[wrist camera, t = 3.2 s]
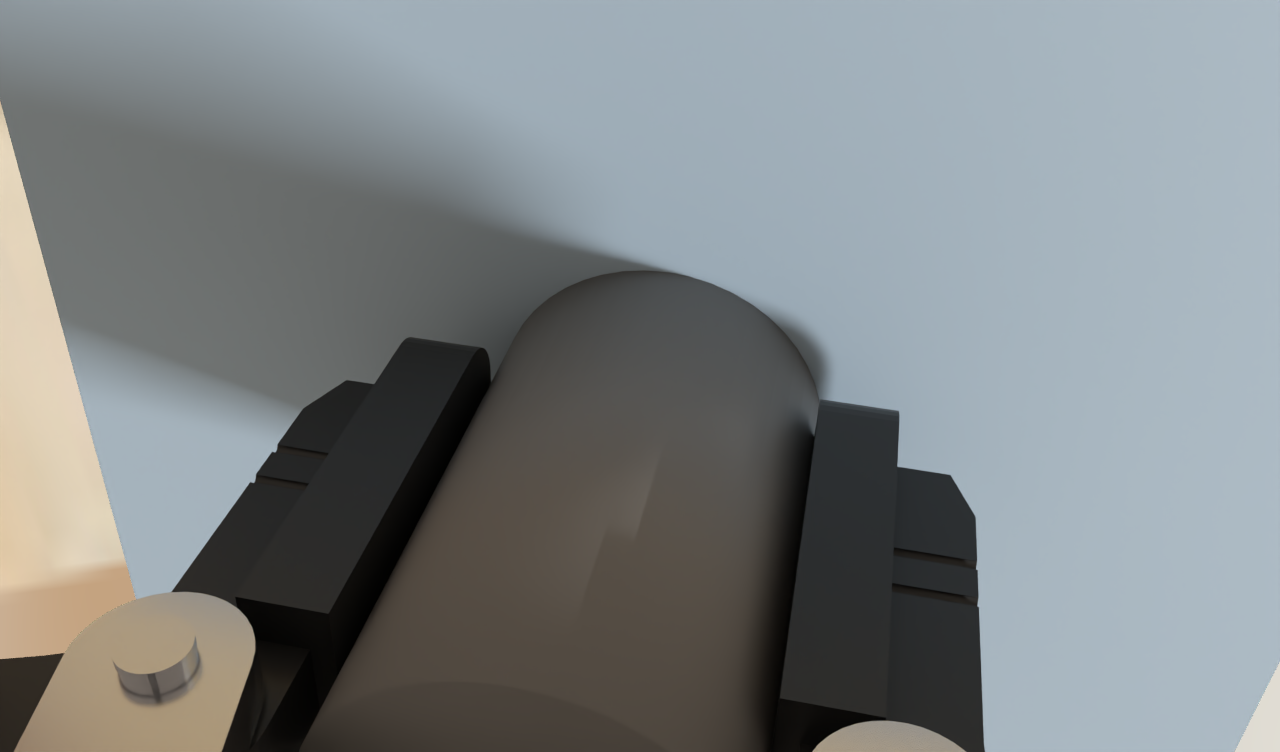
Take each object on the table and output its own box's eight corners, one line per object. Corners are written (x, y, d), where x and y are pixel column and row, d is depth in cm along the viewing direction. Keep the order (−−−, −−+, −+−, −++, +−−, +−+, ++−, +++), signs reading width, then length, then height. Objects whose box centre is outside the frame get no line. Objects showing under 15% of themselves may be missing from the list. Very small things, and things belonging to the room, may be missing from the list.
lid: (28, -414, 11) (-954, -346, 5) (1600, -310, 9) (2675, -42, 4) (239, 609, 19) (-74, 1094, 13) (1129, 774, 17) (1229, 1422, 11)
